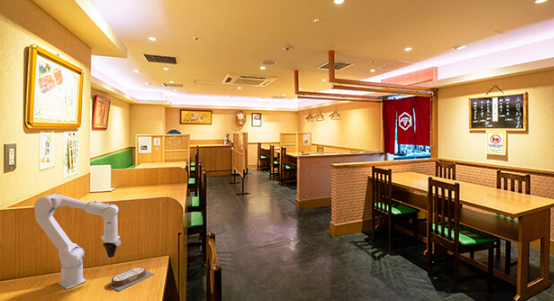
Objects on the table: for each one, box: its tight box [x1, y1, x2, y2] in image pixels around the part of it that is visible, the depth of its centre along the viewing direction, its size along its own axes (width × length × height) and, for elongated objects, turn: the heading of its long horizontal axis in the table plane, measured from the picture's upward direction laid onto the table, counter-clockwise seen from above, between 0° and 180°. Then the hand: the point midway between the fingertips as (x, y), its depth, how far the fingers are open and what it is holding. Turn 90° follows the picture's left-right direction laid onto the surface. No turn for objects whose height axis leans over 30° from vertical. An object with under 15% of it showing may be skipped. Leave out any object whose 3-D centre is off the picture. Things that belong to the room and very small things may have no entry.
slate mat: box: [107, 270, 155, 292], centre depth 122 cm, size 9×17×1 cm, turn 149°
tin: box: [110, 266, 147, 287], centre depth 122 cm, size 15×3×8 cm
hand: (111, 256), depth 124 cm, fingers closed
